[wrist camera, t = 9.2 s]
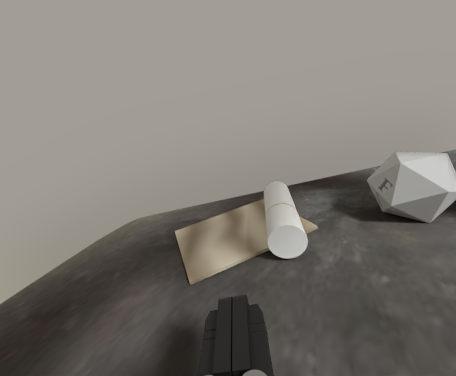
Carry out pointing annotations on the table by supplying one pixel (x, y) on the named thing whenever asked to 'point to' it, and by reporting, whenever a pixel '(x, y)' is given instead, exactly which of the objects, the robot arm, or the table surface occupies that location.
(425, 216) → the die
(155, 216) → the table surface
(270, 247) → the tube
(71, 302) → the table surface
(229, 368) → the robot arm
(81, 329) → the table surface
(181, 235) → the birch board
